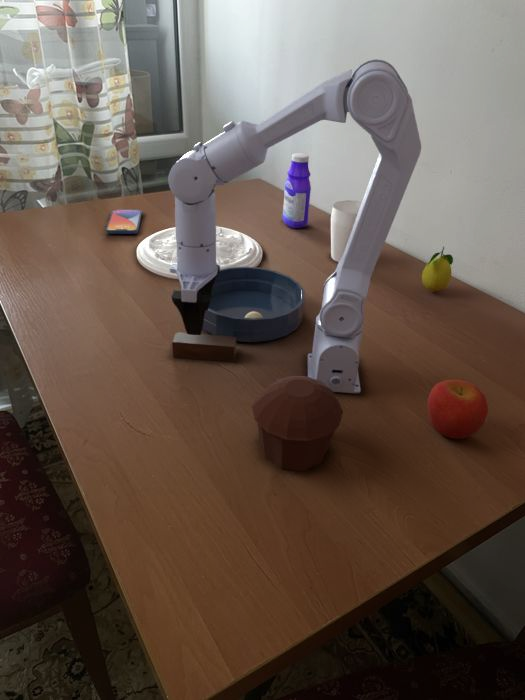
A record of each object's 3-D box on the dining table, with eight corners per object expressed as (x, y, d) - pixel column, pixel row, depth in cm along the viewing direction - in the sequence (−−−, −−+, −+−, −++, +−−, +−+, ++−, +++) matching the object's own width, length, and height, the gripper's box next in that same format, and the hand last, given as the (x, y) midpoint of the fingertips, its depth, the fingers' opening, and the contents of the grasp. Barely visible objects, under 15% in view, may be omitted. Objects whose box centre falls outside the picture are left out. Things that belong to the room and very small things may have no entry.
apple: (454, 457, 73) (470, 412, 68) (409, 424, 78) (421, 380, 74) (489, 436, 77) (505, 392, 72) (444, 405, 82) (457, 363, 78)
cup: (364, 268, 121) (373, 216, 114) (323, 263, 122) (330, 211, 115) (366, 253, 128) (374, 202, 121) (328, 248, 129) (334, 198, 123)
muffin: (289, 407, 80) (294, 351, 74) (352, 445, 74) (364, 386, 68) (232, 449, 72) (234, 389, 66) (298, 494, 66) (306, 432, 61)
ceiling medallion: (220, 222, 140) (221, 210, 138) (287, 263, 121) (288, 250, 119) (116, 242, 126) (115, 229, 124) (173, 292, 107) (172, 278, 105)
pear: (419, 298, 110) (430, 252, 105) (413, 284, 115) (423, 240, 110) (452, 300, 110) (464, 254, 105) (444, 286, 115) (456, 242, 110)
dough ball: (268, 325, 93) (256, 338, 95) (267, 313, 96) (255, 326, 98) (251, 316, 92) (239, 329, 94) (251, 304, 95) (239, 317, 96)
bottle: (278, 220, 143) (283, 152, 133) (297, 218, 145) (303, 150, 135) (291, 230, 137) (297, 159, 128) (310, 228, 139) (318, 158, 130)
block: (234, 362, 88) (234, 346, 87) (172, 357, 89) (172, 342, 87) (236, 351, 91) (236, 336, 89) (176, 347, 91) (175, 332, 90)
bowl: (302, 349, 93) (304, 323, 90) (183, 340, 93) (182, 314, 90) (302, 293, 109) (304, 270, 107) (202, 286, 110) (201, 263, 107)
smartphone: (142, 213, 142) (142, 209, 141) (137, 234, 129) (137, 230, 129) (113, 213, 141) (112, 209, 141) (105, 234, 129) (105, 230, 128)
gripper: (178, 220, 85) (181, 297, 92) (157, 258, 73) (163, 343, 80) (223, 223, 85) (223, 300, 92) (210, 262, 73) (210, 347, 80)
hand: (198, 320), depth 86 cm, fingers open, 7 cm apart
